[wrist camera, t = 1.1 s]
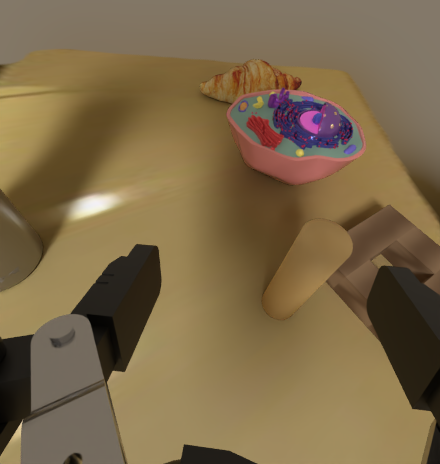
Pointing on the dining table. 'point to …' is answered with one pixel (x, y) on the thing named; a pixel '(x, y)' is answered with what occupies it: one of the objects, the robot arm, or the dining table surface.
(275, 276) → the peg
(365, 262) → the hole block
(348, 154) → the cell model
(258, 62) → the croissant
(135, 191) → the dining table surface
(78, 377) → the robot arm
